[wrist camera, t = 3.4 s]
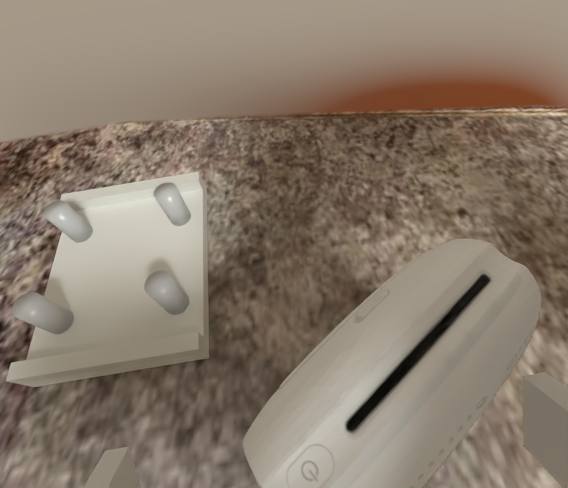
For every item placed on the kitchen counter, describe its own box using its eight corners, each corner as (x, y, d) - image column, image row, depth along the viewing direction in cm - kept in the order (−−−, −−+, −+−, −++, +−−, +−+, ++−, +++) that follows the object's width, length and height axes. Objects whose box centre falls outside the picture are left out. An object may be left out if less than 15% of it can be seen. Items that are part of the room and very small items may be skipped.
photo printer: (322, 523, 16) (331, 674, 5) (266, 444, 18) (190, 437, 7) (452, 371, 19) (622, 274, 8) (391, 318, 21) (467, 184, 10)
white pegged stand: (209, 358, 20) (186, 338, 17) (34, 387, 20) (-27, 374, 17) (206, 190, 28) (190, 152, 24) (79, 211, 28) (44, 176, 24)
